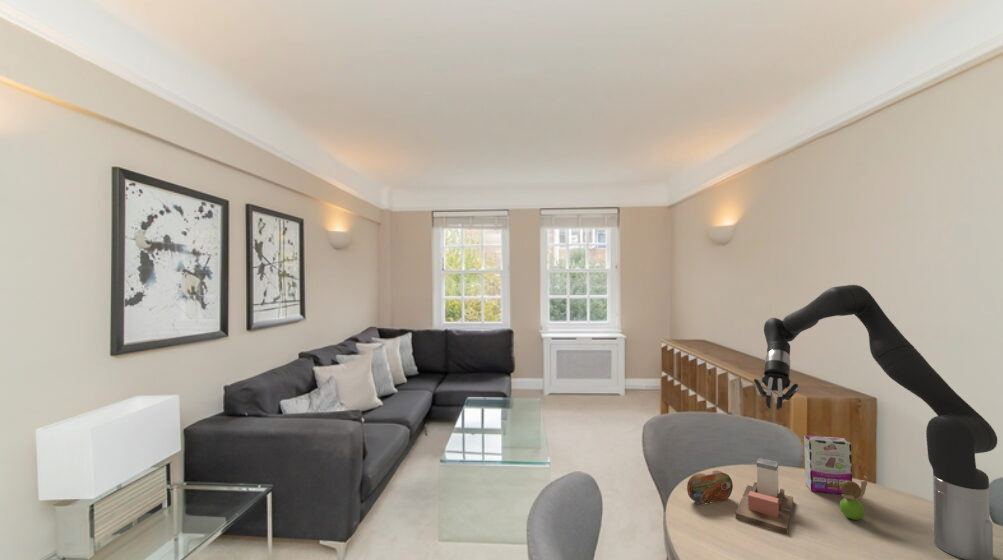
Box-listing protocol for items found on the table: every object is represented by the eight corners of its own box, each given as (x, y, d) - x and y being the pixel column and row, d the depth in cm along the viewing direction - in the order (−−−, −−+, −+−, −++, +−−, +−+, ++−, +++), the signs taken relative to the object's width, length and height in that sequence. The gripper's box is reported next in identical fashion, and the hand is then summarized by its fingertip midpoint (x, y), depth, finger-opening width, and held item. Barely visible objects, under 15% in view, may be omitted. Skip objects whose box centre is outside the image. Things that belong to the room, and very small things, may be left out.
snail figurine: (874, 525, 112) (873, 481, 113) (847, 522, 114) (846, 479, 114) (861, 514, 118) (860, 472, 118) (835, 511, 119) (834, 470, 119)
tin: (692, 507, 123) (692, 478, 123) (685, 501, 126) (684, 474, 126) (733, 499, 127) (733, 471, 127) (725, 494, 130) (725, 467, 130)
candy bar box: (845, 488, 132) (844, 437, 132) (853, 496, 127) (852, 443, 127) (804, 484, 135) (803, 434, 135) (810, 491, 130) (809, 439, 130)
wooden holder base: (793, 502, 125) (793, 490, 125) (787, 534, 109) (786, 521, 109) (747, 489, 132) (747, 478, 132) (735, 518, 117) (735, 505, 117)
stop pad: (778, 512, 117) (778, 498, 117) (777, 517, 114) (777, 503, 114) (750, 504, 121) (749, 490, 121) (748, 509, 119) (748, 495, 119)
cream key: (778, 495, 125) (778, 462, 125) (777, 500, 122) (776, 467, 122) (759, 489, 129) (758, 457, 129) (757, 495, 125) (756, 462, 125)
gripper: (753, 357, 151) (748, 398, 141) (800, 361, 142) (798, 405, 133) (756, 369, 155) (751, 410, 146) (801, 373, 146) (799, 417, 137)
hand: (773, 407), depth 139 cm, fingers closed
